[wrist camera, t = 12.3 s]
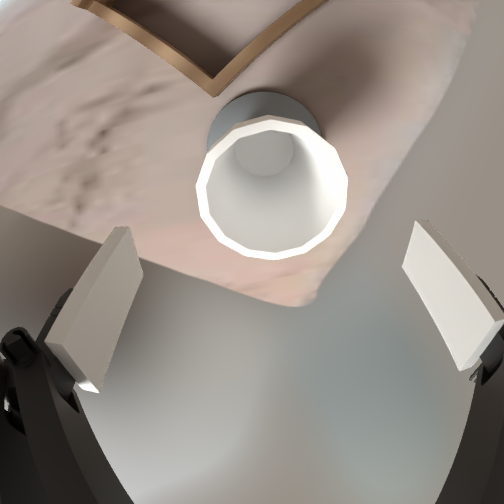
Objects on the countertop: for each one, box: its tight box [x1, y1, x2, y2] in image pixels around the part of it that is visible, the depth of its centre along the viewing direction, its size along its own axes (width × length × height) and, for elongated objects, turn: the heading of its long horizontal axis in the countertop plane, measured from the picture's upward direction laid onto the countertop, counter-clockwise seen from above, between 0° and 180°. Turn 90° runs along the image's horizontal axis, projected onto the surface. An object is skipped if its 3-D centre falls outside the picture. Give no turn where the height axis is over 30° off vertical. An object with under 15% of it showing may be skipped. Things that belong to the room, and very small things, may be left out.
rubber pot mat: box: [207, 92, 322, 153], centre depth 28 cm, size 12×12×1 cm
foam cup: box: [196, 115, 348, 260], centre depth 23 cm, size 10×9×13 cm
